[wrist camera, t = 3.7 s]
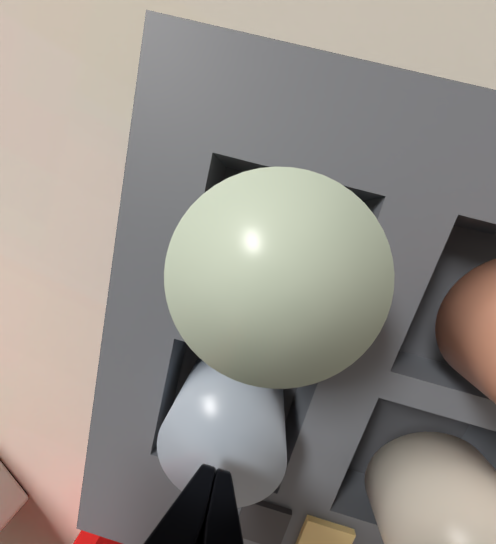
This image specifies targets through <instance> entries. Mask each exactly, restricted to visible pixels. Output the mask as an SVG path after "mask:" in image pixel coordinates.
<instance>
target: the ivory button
mask: <svg viewBox="0 0 496 544" xmlns="http://www.w3.org/2000/svg"><path fill="white" fill-rule="evenodd" d="M364 483H365V489H366V492H367V496H368V498H369V501H370V504H371V507H372V510H373V513H374V516H375V519H376V522H377V525H378V528H379V531H380V534H381V537H382V540H383V543H384V544H496V470H495V469H494V468H493V466H492V465H491V464H490V463H489V462H488V461H487V460H486V459H485V457H484V456H483V455H482V454H481V453H480V452H479V451H478V450H477V449H476V448H475V447H474V446H473V445H471V444H470V443H468V442H467V441H465V440H463V439H461V438H458V437H456V436H453V435H449V434H445V433H439V432H417V433H412V434H407V435H404V436H401V437H398V438H396V439H394V440H392V441H390V442H388V443H387V444H385V445H384V446H383V447H381V448H380V449H379V450H378V451H377V452H376V453H375V454H374V456H373V457H372V458H371V460H370V462H369V463H368V466H367V468H366V472H365V479H364Z"/></svg>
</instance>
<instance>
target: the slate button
mask: <svg viewBox="0 0 496 544" xmlns="http://www.w3.org/2000/svg"><path fill="white" fill-rule="evenodd" d="M157 453H158V458H159V461H160V464H161V466H162V468H163V471H164V472H165V474H166V475H167V477H168V478H169V479H170V481H171V482H172V483H173V484H174V485H175V486H176V487H177V488H178V489H179V490H181V491H182V490H183V489H184V488H185V486H186V485H187V483H188V482H189V481H190V479H191V478H192V477H193V475H194V474H195V473H196V471H197V470H198V468H199V467H200V466H201V465H202V464H208V465H211V466H214V467H215V468H216V470H217V469H218V468H220V469H224V470H227V471H230V473H231V475H232V480H233V486H234V491H235V497H236V503H237V508H239V507H245V506H249V505H252V504H255V503H257V502H260V501H262V500H263V499H265V498H267V497H268V496H269V495H270V494H272V493H273V492H274V491H275V490H276V489H277V488H278V486H279V485H280V483H281V482H282V479H283V477H284V475H285V471H286V467H287V449H286V431H285V413H284V395H283V389H270V388H261V387H256V386H252V385H247V384H244V383H241V382H238V381H236V380H233V379H231V378H229V377H227V376H225V375H223V374H221V373H219V372H218V371H216V370H215V369H213V368H211V367H210V366H209V365H207V364H206V363H205V362H204V361H203V360H201V359H200V358H199V359H198V360H197V362H196V363H195V365H194V367H193V368H192V370H191V372H190V374H189V376H188V378H187V379H186V381H185V383H184V385H183V387H182V389H181V390H180V392H179V394H178V396H177V398H176V400H175V401H174V403H173V405H172V407H171V409H170V411H169V412H168V414H167V416H166V418H165V420H164V421H163V423H162V425H161V428H160V430H159V433H158V437H157Z"/></svg>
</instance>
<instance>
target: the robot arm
mask: <svg viewBox="0 0 496 544" xmlns="http://www.w3.org/2000/svg"><path fill="white" fill-rule="evenodd" d="M143 544H244V542H243V536H242V531H241V525H240V520H239V514H238V508H237V503H236V497H235V491H234V486H233V480H232V475H231V473H230V471H227V470H224V469H220V468H218V469H217V470H216V468H215V467H214V466H211V465H208V464H202V465H201V466H200V467H199V468H198V470H197V471H196V473H195V474H194V475H193V477H192V478H191V479H190V481H189V482H188V483H187V485H186V486H185V488H184V489H183V490H182V492H181V493H180V494H179V496H178V497H177V498H176V500H175V501H174V503H173V504H172V505H171V507H170V508H169V509H168V511H167V512H166V513H165V515H164V516H163V518H162V519H161V520H160V522H159V523H158V524H157V526H156V527H155V528H154V530H153V531H152V533H151V534H150V535H149V537H148V538H147V539H146V541H145V542H144V543H143Z"/></svg>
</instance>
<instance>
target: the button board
mask: <svg viewBox="0 0 496 544" xmlns="http://www.w3.org/2000/svg"><path fill="white" fill-rule="evenodd" d="M275 166H276V167H294V168H300V169H305V170H310V171H313V172H316V173H319V174H322V175H325V176H327V177H329V178H331V179H333V180H335V181H337V182H339V183H340V184H342V185H343V186H345V187H346V188H348V189H349V190H350V191H352V192H353V193H354V194H355V195H356V196H357V197H359V198H360V199H361V200H362V201H363V202H364V203H365V204H366V205H367V207H368V208H369V209H370V210H371V212H372V213H373V214H374V215H375V217H376V218H377V220H378V222H379V223H380V225H381V227H382V228H383V230H384V233H385V235H386V238H387V240H388V243H389V246H390V250H391V253H392V257H393V264H394V274H395V276H394V292H393V298H392V303H391V307H390V310H389V313H388V316H387V319H386V321H385V323H384V325H383V327H382V329H381V331H380V333H379V334H378V336H377V337H376V339H375V340H374V342H373V343H372V345H371V346H370V347H369V348H368V349H367V350H366V351H365V353H364V354H363V355H362V356H361V357H360V358H358V359H357V360H356V361H355V362H354V363H353V364H352V365H350V366H349V367H347V368H346V369H344V370H343V371H341V372H340V373H338V374H336V375H334V376H332V377H330V378H328V379H326V380H323V381H320V382H318V383H315V384H311V385H307V386H303V387H297V388H289V389H283V395H284V413H285V431H286V449H287V467H286V471H285V475H284V477H283V479H282V482H281V483H280V485H279V486H278V488H277V489H276V490H275V491H274V492H273V493H272V494H270V495H269V496H268V497H267V498H265V499H263V500H262V501H260V502H257V503H255V504H252V505H249V506H245V507H239V508H238V514H239V520H240V525H241V531H242V536H243V542H244V544H384V543H383V540H382V537H381V534H380V531H379V528H378V525H377V522H376V519H375V516H374V513H373V510H372V507H371V504H370V501H369V498H368V496H367V492H366V489H365V483H364V479H365V472H366V468H367V466H368V463H369V462H370V460H371V458H372V457H373V456H374V454H375V453H376V452H377V451H378V450H379V449H380V448H381V447H383V446H384V445H385V444H387V443H388V442H390V441H392V440H394V439H396V438H398V437H401V436H404V435H407V434H412V433H417V432H439V433H445V434H449V435H453V436H456V437H458V438H461V439H463V440H465V441H467V442H468V443H470V444H471V445H473V446H474V447H475V448H476V449H477V450H478V451H479V452H480V453H481V454H482V455H483V456H484V457H485V459H486V460H487V461H488V462H489V463H490V464H491V465H492V466H493V468H494V469H495V470H496V404H495V403H494V402H493V401H491V400H490V399H489V398H488V397H487V396H485V395H484V394H483V393H482V392H481V391H479V390H478V389H477V388H476V387H475V386H473V385H472V384H471V383H470V382H469V381H467V380H466V379H465V378H464V377H463V376H461V375H460V374H459V373H458V372H457V371H455V370H454V369H453V368H452V367H451V366H450V365H449V364H448V363H447V361H446V360H445V359H444V357H443V356H442V354H441V352H440V350H439V347H438V345H437V341H436V334H435V324H436V318H437V313H438V310H439V308H440V305H441V303H442V301H443V299H444V298H445V296H446V294H447V293H448V292H449V290H450V289H451V288H452V287H453V285H454V284H455V283H456V282H457V281H458V280H459V279H460V278H462V277H463V276H464V275H465V274H467V273H468V272H469V271H471V270H472V269H474V268H476V267H477V266H479V265H481V264H483V263H485V262H488V261H490V260H493V259H496V90H493V89H489V88H484V87H480V86H476V85H471V84H467V83H463V82H458V81H454V80H449V79H445V78H441V77H436V76H432V75H428V74H423V73H419V72H415V71H410V70H406V69H402V68H397V67H393V66H389V65H384V64H380V63H375V62H371V61H367V60H362V59H358V58H354V57H349V56H345V55H341V54H336V53H332V52H328V51H323V50H319V49H315V48H310V47H306V46H301V45H297V44H293V43H288V42H284V41H280V40H275V39H271V38H267V37H262V36H258V35H254V34H249V33H245V32H241V31H236V30H232V29H227V28H223V27H219V26H214V25H210V24H206V23H201V22H197V21H193V20H188V19H184V18H180V17H175V16H171V15H166V14H162V13H158V12H153V11H149V10H146V15H145V23H144V30H143V37H142V45H141V52H140V60H139V67H138V75H137V82H136V90H135V97H134V104H133V112H132V119H131V127H130V134H129V142H128V149H127V157H126V164H125V171H124V179H123V186H122V194H121V201H120V209H119V216H118V224H117V231H116V238H115V246H114V253H113V261H112V268H111V276H110V283H109V291H108V298H107V305H106V313H105V320H104V328H103V335H102V343H101V350H100V358H99V365H98V372H97V380H96V387H95V395H94V402H93V410H92V417H91V425H90V432H89V439H88V447H87V454H86V462H85V469H84V477H83V484H82V492H81V499H80V506H79V514H78V521H77V529H80V530H83V531H86V532H89V533H92V534H95V535H98V536H101V537H104V538H107V539H110V540H113V541H116V542H119V543H122V544H143V543H144V542H145V541H146V539H147V538H148V537H149V535H150V534H151V533H152V531H153V530H154V528H155V527H156V526H157V524H158V523H159V522H160V520H161V519H162V518H163V516H164V515H165V513H166V512H167V511H168V509H169V508H170V507H171V505H172V504H173V503H174V501H175V500H176V498H177V497H178V496H179V494H180V493H181V492H182V491H181V490H179V489H178V488H177V487H176V486H175V485H174V484H173V483H172V482H171V481H170V479H169V478H168V477H167V475H166V474H165V472H164V471H163V468H162V466H161V464H160V461H159V458H158V453H157V437H158V433H159V430H160V428H161V425H162V423H163V421H164V420H165V418H166V416H167V414H168V412H169V411H170V409H171V407H172V405H173V403H174V401H175V400H176V398H177V396H178V394H179V392H180V390H181V389H182V387H183V385H184V383H185V381H186V379H187V378H188V376H189V374H190V372H191V370H192V368H193V367H194V365H195V363H196V362H197V360H198V359H199V357H198V356H197V355H196V354H195V353H194V352H193V351H192V350H191V349H190V347H189V346H188V345H187V343H186V342H185V341H184V339H183V338H182V337H181V335H180V333H179V331H178V330H177V328H176V326H175V324H174V322H173V319H172V317H171V314H170V312H169V308H168V304H167V301H166V295H165V288H164V268H165V259H166V255H167V251H168V247H169V243H170V241H171V238H172V236H173V233H174V231H175V229H176V227H177V225H178V224H179V222H180V220H181V218H182V217H183V216H184V214H185V213H186V212H187V210H188V209H189V208H190V206H191V205H192V204H193V203H194V202H195V201H196V200H197V199H198V198H199V197H200V196H201V195H202V194H204V193H205V192H206V191H208V190H209V189H210V188H212V187H213V186H214V185H216V184H218V183H220V182H222V181H223V180H225V179H227V178H229V177H231V176H234V175H237V174H239V173H242V172H245V171H249V170H253V169H257V168H265V167H275Z"/></svg>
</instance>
